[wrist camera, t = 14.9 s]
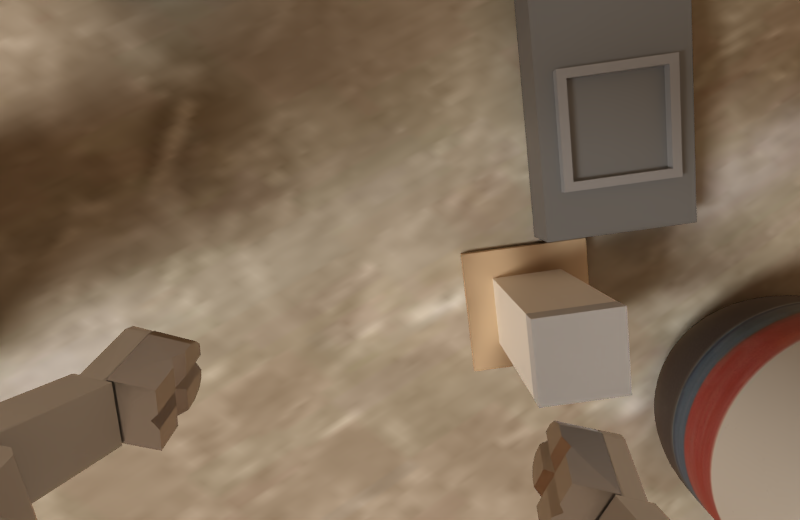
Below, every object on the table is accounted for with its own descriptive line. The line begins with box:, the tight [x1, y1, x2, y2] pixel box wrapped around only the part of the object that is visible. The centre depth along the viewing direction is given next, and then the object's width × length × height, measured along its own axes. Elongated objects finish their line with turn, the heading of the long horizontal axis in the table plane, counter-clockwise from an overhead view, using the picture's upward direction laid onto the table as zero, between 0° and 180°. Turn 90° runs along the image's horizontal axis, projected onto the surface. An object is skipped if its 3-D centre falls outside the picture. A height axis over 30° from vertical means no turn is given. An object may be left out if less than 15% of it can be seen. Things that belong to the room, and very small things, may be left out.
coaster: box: [461, 238, 589, 371], centre depth 35 cm, size 9×9×1 cm
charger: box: [493, 269, 632, 408], centre depth 30 cm, size 5×5×10 cm
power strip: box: [514, 0, 697, 243], centre depth 30 cm, size 10×28×4 cm, turn 8°
